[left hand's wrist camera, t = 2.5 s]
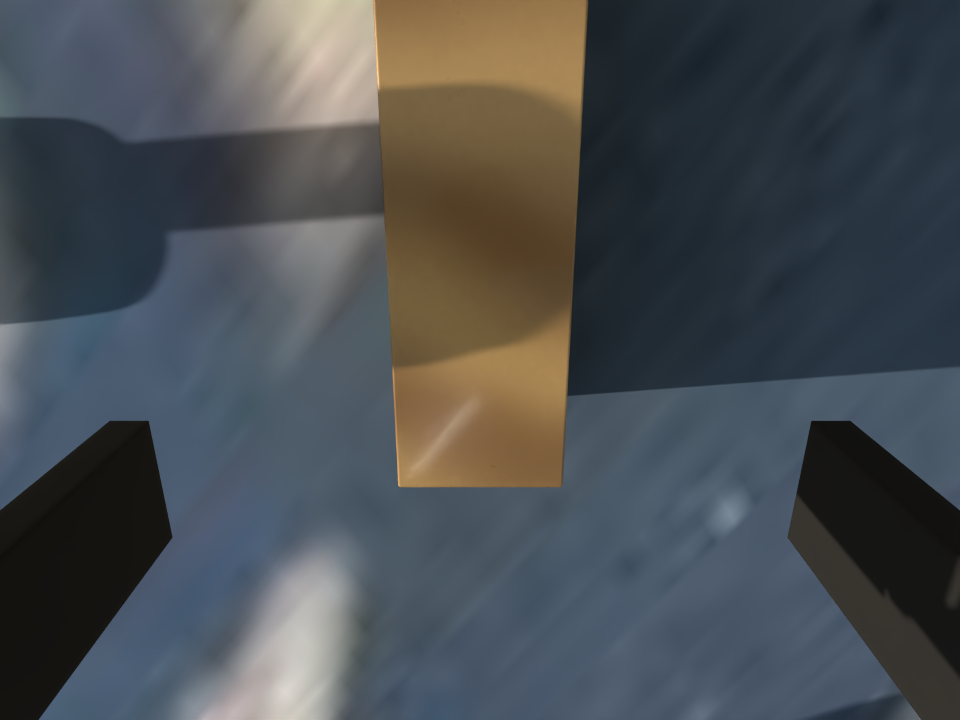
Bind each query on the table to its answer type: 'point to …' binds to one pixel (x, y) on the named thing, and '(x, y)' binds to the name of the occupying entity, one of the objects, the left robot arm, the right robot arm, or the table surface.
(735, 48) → the table surface
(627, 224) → the table surface
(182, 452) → the table surface
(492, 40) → the board
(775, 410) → the table surface
